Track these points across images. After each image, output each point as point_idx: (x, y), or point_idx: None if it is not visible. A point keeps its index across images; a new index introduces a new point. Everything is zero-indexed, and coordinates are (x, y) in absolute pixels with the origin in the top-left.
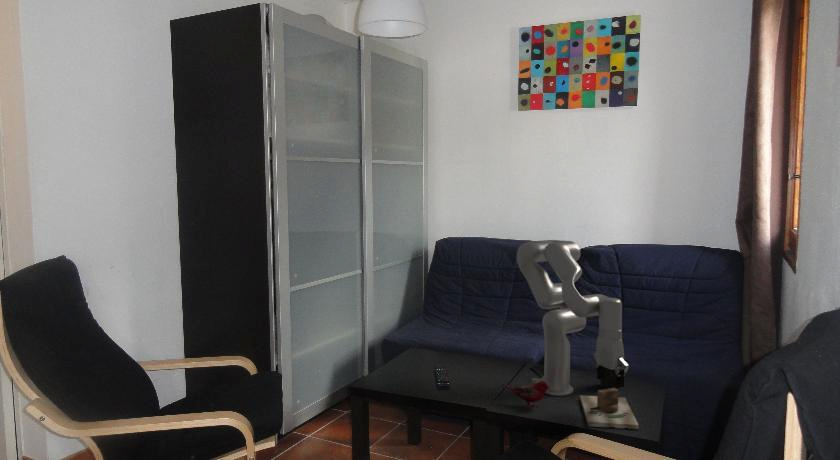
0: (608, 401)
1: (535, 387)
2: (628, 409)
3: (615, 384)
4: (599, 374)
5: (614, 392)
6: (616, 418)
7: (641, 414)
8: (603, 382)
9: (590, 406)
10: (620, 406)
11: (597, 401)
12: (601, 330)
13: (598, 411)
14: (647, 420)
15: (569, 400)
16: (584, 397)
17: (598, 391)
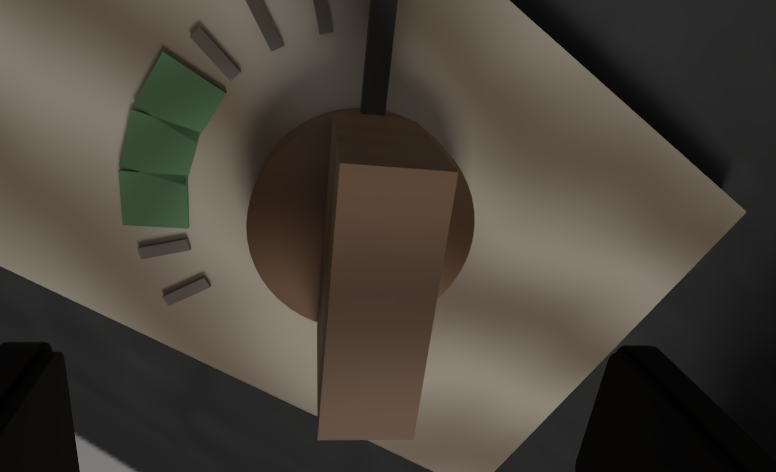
0: (326, 227)
1: None
2: (267, 371)
3: (15, 377)
4: (662, 434)
5: (321, 365)
6: (114, 120)
7: (215, 422)
8: None
9: (500, 101)
10: None
11: (420, 129)
12: None
13: (355, 80)
14: (90, 388)
15: (770, 88)
16: (688, 212)
17: (434, 167)
